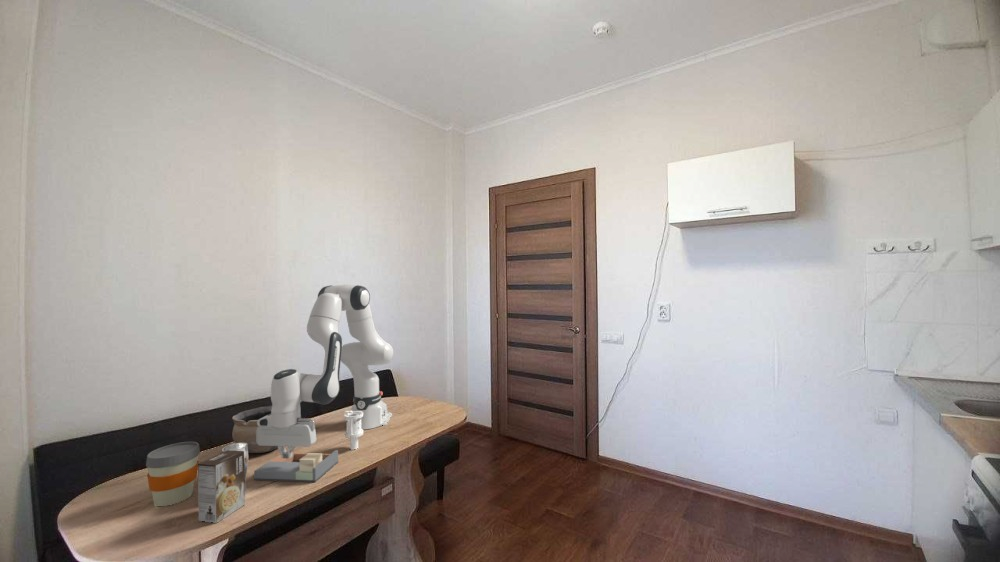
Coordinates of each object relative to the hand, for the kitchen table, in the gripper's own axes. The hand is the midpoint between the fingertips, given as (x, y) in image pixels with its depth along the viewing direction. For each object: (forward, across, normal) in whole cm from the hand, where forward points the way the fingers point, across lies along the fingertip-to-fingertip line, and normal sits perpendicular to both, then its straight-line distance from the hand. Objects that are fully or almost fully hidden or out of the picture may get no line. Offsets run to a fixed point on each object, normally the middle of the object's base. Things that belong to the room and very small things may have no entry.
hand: (287, 457), depth 127 cm
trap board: (+6, -2, -3) cm, 7 cm away
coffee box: (+6, +4, +22) cm, 23 cm away
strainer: (+6, -13, -22) cm, 26 cm away
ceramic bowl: (+6, +24, -20) cm, 32 cm away
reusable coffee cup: (+6, +26, +16) cm, 31 cm away
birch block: (+3, -10, +1) cm, 10 cm away
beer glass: (+6, +8, +13) cm, 16 cm away
